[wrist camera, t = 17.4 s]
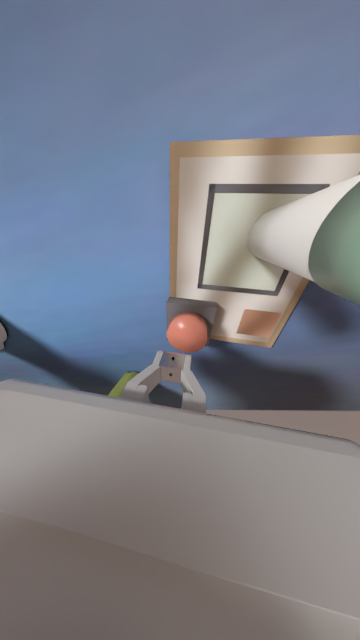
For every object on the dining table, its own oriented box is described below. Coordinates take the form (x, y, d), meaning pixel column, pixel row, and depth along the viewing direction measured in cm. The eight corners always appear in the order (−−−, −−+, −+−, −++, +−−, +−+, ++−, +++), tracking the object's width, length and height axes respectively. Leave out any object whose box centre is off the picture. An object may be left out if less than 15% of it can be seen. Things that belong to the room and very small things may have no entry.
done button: (170, 339, 17) (166, 348, 16) (170, 309, 15) (166, 317, 13) (204, 344, 17) (204, 354, 15) (210, 314, 14) (210, 323, 13)
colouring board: (170, 330, 20) (167, 340, 18) (171, 147, 10) (163, 126, 8) (269, 344, 18) (276, 357, 16) (381, 140, 9) (432, 112, 7)
